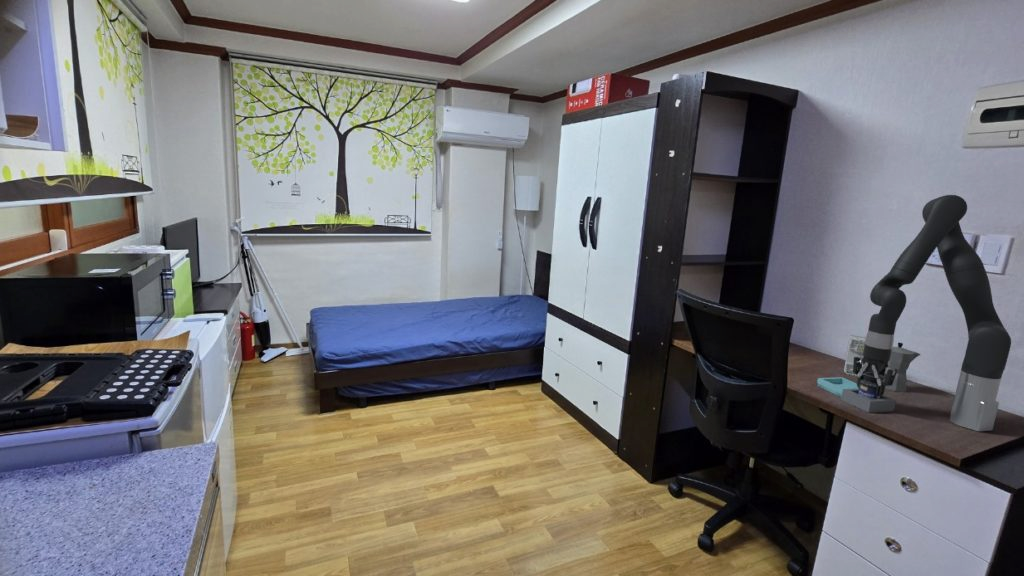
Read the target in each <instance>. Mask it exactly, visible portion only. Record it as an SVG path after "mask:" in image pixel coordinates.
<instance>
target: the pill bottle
mask: <svg viewBox="0 0 1024 576" xmlns="http://www.w3.org/2000/svg"><path fill="white" fill-rule="evenodd" d="M877 385H878V383H877V379H876V378H875V376H874V374H872V373H865V374H864V379H863V380H861V381H860V385H859V390H858V394H859V395H861V396H863V397H866V398H868V399H879V398H880V396H877V395H875V393H876V388H877Z"/></svg>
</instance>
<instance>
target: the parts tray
mask: <svg viewBox="0 0 1024 576" xmlns="http://www.w3.org/2000/svg"><path fill="white" fill-rule="evenodd" d="M816 386H817V387H819V388H821V389H823V390H825V391H828V392H830V393H831V394H834V395H836V396H838V397H839V398H841V397H842V392H843V389H856V388H858V387H857V382H854V381H852V380H849V379H847V378H845V377H842V376H841V377H839V376H838V377H818V378H817V383H816Z"/></svg>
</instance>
